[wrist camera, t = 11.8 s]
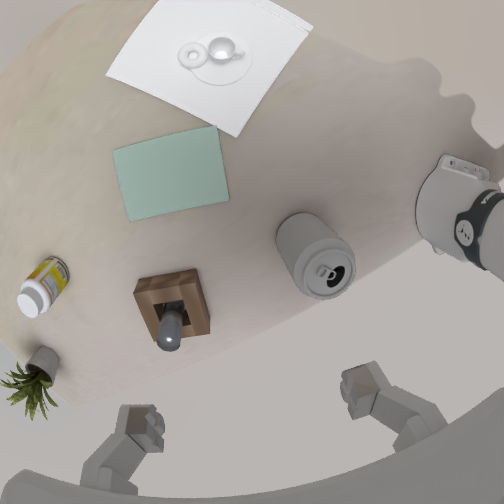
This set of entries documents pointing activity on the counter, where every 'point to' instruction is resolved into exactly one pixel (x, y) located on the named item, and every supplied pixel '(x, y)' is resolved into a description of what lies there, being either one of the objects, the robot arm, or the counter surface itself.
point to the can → (315, 256)
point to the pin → (171, 326)
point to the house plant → (35, 380)
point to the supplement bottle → (42, 287)
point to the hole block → (173, 289)
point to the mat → (171, 173)
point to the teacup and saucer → (210, 56)
